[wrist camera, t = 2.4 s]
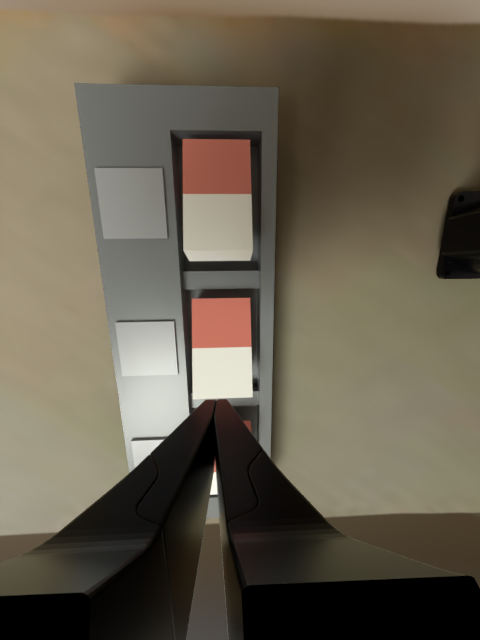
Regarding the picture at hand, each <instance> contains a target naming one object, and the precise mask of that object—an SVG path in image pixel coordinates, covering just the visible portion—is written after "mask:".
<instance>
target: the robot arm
mask: <svg viewBox="0 0 480 640" xmlns="http://www.w3.org/2000/svg"><path fill="white" fill-rule="evenodd" d="M458 198H459V202H458ZM445 271H446V273H445V274H444V272H445ZM437 276H438V277H439V278H441V279H473V278H480V191H462V192H458V193H455V194H454V195H452V196H451V198H450V201H449V207H448V213H447V219H446V224H445V230H444V236H443V241H442V247H441V253H440V258H439V264H438V270H437ZM215 463H216V479H217V493H218V506H219V520H220V533H221V545H222V559H223V572H224V586H225V600H226V613H227V626H228V640H480V588H479V586H478V584H477V582H476V581H475V579H474V578H473V577H472V576H467V575H462V574H458V573H454V572H450V571H446V570H443V569H439V568H436V567H433V566H430V565H427V564H425V563H422V562H419V561H416V560H413V559H410V558H407V557H404V556H402V555H399V554H396V553H393V552H390V551H387V550H384V549H382V548H379V547H376V546H373V545H370V544H367V543H364V542H361V541H358V540H356V539H353V538H351V537H348V536H346V535H345V534H343V533H342V532H340V531H339V530H337V529H336V528H335V527H334V526H332V525H331V524H330V523H329V522H328V521H327V520H326V519H325V518H324V517H323V516H322V515H321V514H320V513H319V512H318V511H317V510H316V508H315V507H314V506H313V505H312V504H311V503H310V502H309V501H308V500H307V499H306V498H305V497H304V496H303V495H302V494H301V493H300V492H299V491H298V490H297V489H296V487H295V486H294V485H293V484H292V483H291V482H290V481H289V480H288V479H287V478H286V477H285V476H284V474H283V473H282V472H281V471H280V470H279V469H278V467H277V466H276V465H275V464H274V462H273V461H272V460H271V459H270V457H269V456H268V454H267V453H266V452H265V450H264V449H263V448H262V446H261V445H260V444H259V442H258V441H257V439H256V438H255V437H254V435H253V434H252V433H251V431H250V430H249V428H248V427H247V426H246V424H245V423H244V422H243V420H242V419H241V417H240V416H239V415H238V413H237V412H236V411H235V409H234V408H233V406H232V405H231V404H230V402H229V401H228V400H227V399H217V400H215V399H207V400H204V401H203V402H202V403H201V404H200V405H199V406H198V407H197V408H196V409H195V410H194V411H193V412H192V413H191V414H190V415H189V416H188V417H187V418H186V419H185V420H184V421H183V422H182V423H181V424H180V425H179V426H178V427H177V428H176V429H175V430H174V431H173V432H172V433H171V434H170V435H169V436H168V437H167V438H166V439H164V440H163V441H162V442H161V443H160V444H159V445H158V446H157V447H156V448H155V449H154V450H153V451H152V452H151V453H150V455H148V456H147V457H146V458H145V459H144V460H143V461H142V462H141V463H140V464H139V465H138V466H136V467H135V468H134V469H133V470H132V471H131V472H130V473H129V474H128V475H127V476H126V477H124V478H123V479H122V480H121V481H120V482H119V483H117V484H116V485H115V486H114V487H113V488H112V489H110V490H109V491H108V492H107V493H106V494H104V495H103V496H102V497H101V498H100V499H98V500H97V501H96V502H95V503H93V504H92V505H91V506H90V507H89V508H87V509H86V510H85V511H84V512H82V513H81V514H80V515H79V516H78V517H76V518H75V519H74V520H73V521H72V522H70V523H69V524H68V525H67V526H65V527H64V528H63V529H62V530H61V531H59V532H58V533H57V534H55V535H54V536H53V537H51V538H50V539H49V540H47V541H46V542H44V543H43V544H41V545H40V546H38V547H36V548H34V549H33V550H31V551H29V552H27V553H24V554H22V555H20V556H17V557H15V558H12V559H9V560H6V561H3V562H0V640H186V636H187V630H188V624H189V617H190V612H191V606H192V600H193V593H194V587H195V581H196V576H197V570H198V564H199V558H200V552H201V546H202V540H203V534H204V528H205V522H206V516H207V510H208V504H209V498H210V492H211V486H212V480H213V474H214V467H215Z"/></svg>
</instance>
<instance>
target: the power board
mask: <svg viewBox="0 0 480 640" xmlns="http://www.w3.org/2000/svg"><path fill="white" fill-rule="evenodd" d="M74 86H75V93H76V100H77V107H78V114H79V121H80V128H81V135H82V142H83V149H84V156H85V163H86V170H87V177H88V184H89V191H90V198H91V205H92V212H93V220H94V227H95V234H96V241H97V248H98V255H99V262H100V269H101V276H102V283H103V290H104V297H105V304H106V311H107V318H108V325H109V332H110V339H111V346H112V353H113V361H114V368H115V375H116V382H117V389H118V396H119V403H120V410H121V417H122V424H123V431H124V438H125V445H126V452H127V459H128V466H129V473H130V472H131V471H132V470H133V469H134V468H135V467H136V466H138V465H139V464H140V463H141V462H142V461H143V460H144V459H145V458H146V457H147V456H148V455H150V453H151V452H152V451H153V450H154V449H155V448H156V447H157V446H158V445H159V444H160V443H161V442H162V441H163V440H164V439H166V438H167V437H168V436H169V435H170V434H171V433H172V432H173V431H174V430H175V429H176V428H177V427H178V426H179V425H180V424H181V423H182V422H183V421H184V420H185V419H186V418H187V417H188V416H189V415H190V414H191V413H192V412H193V411H194V410H195V409H196V408H197V407H198V406H199V405H200V404H201V403H202V402H203V401H204V400H207V399H193V380H192V299H204V298H250V309H251V349H252V390H253V397H248V398H218V399H227V400H228V401H229V402H230V404H231V405H232V406H233V408H234V409H235V411H236V412H237V413H238V415H239V416H240V417H241V419H242V420H243V421H251V432H252V434H253V435H254V437H255V438H256V439H257V441H258V442H259V444H260V445H261V446H262V448H263V449H264V450H265V452H266V453H267V454H268V456H269V457H270V459H271V413H272V367H273V321H274V276H275V230H276V184H277V138H278V92H279V87H246V86H194V85H141V84H88V83H74ZM183 139H240V140H250V157H251V196H252V235H253V252H252V256H251V260H250V261H189V260H188V258H187V256H186V254H185V253H184V251H183ZM215 400H217V399H215ZM206 518H219V506H218V494H214V495H210V498H209V504H208V510H207V516H206Z"/></svg>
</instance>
